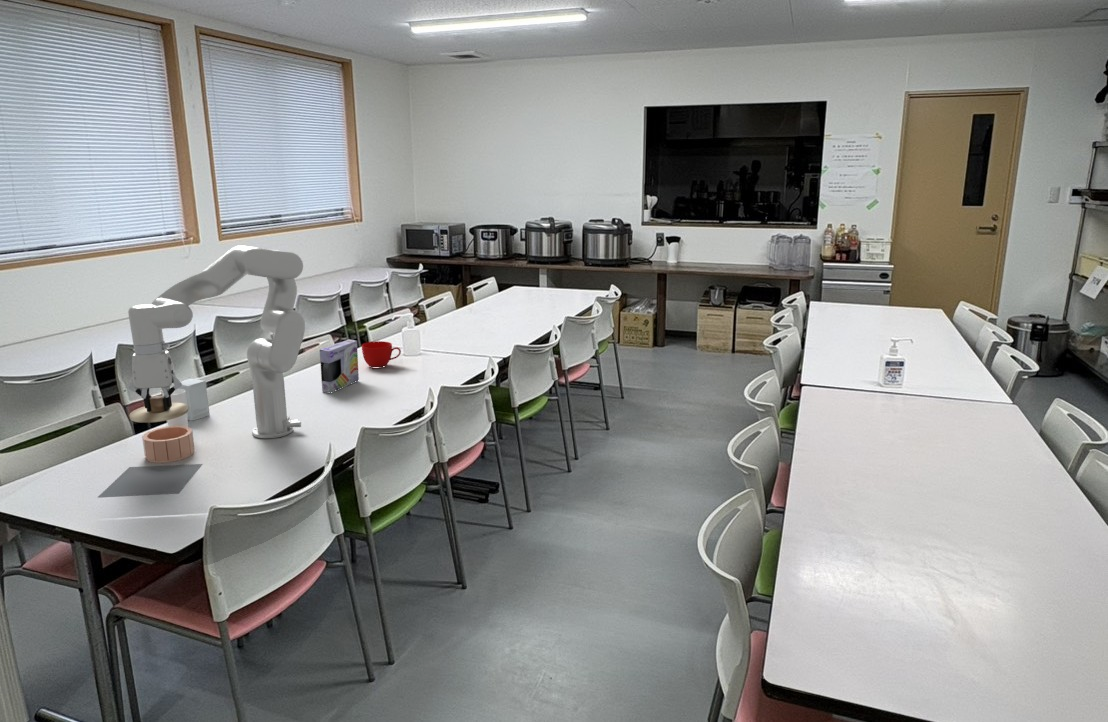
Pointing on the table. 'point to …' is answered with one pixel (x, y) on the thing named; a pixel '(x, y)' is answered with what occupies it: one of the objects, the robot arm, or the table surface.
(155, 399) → the lid
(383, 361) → the ceramic cup
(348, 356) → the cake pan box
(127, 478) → the mat
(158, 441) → the bowl
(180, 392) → the drinking glass
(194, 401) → the supplement box
